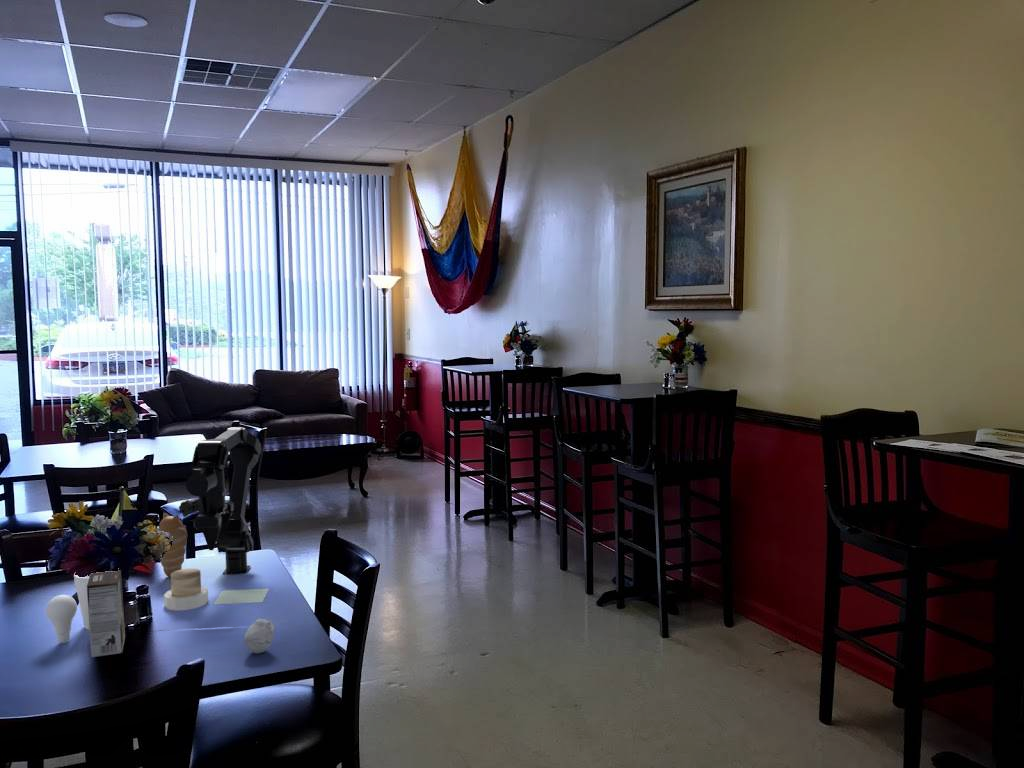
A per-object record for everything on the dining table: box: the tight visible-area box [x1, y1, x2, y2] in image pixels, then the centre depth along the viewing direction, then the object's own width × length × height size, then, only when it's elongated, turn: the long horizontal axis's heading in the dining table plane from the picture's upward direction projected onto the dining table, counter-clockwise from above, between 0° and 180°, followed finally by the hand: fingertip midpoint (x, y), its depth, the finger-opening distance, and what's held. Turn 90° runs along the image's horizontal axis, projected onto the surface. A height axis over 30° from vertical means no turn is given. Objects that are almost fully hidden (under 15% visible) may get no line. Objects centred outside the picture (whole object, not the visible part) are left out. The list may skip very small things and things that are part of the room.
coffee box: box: [87, 569, 126, 658], centre depth 178 cm, size 9×6×16 cm
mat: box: [213, 588, 270, 605], centre depth 209 cm, size 10×12×1 cm
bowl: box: [163, 585, 209, 612], centre depth 205 cm, size 10×10×3 cm
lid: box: [170, 568, 202, 597], centre depth 204 cm, size 7×7×5 cm
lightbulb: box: [45, 594, 78, 644], centre depth 181 cm, size 6×6×11 cm
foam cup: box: [73, 573, 89, 631], centre depth 191 cm, size 10×9×13 cm
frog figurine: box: [243, 618, 275, 654], centre depth 176 cm, size 6×7×7 cm
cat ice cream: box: [158, 512, 188, 578], centre depth 225 cm, size 9×8×18 cm
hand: (215, 545), depth 215 cm, fingers open, 9 cm apart
